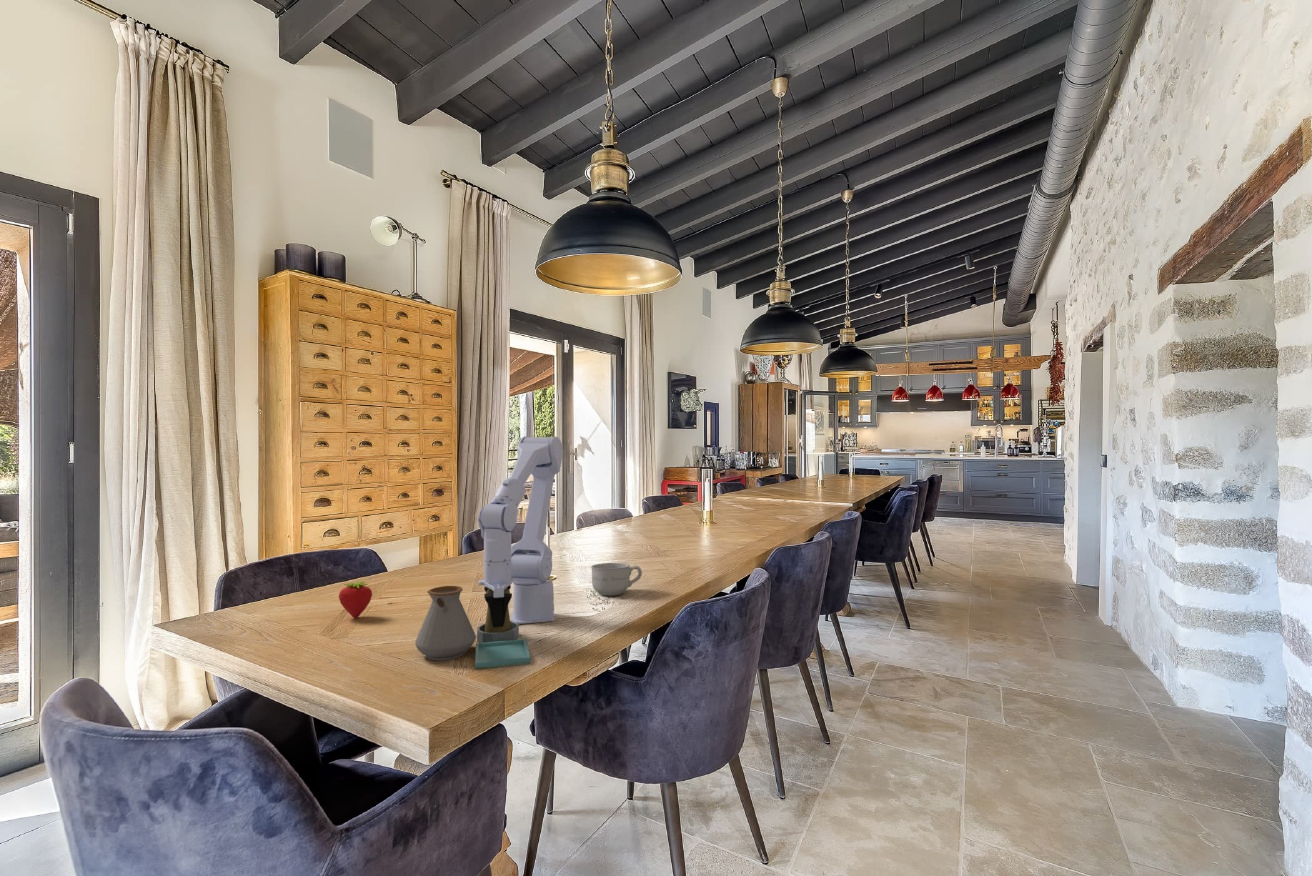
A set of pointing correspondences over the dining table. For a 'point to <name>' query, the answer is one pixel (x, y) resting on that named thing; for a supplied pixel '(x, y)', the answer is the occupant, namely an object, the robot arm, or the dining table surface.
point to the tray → (501, 653)
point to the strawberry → (355, 598)
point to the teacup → (613, 577)
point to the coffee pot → (445, 626)
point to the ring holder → (497, 634)
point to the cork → (488, 625)
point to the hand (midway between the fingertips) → (497, 622)
